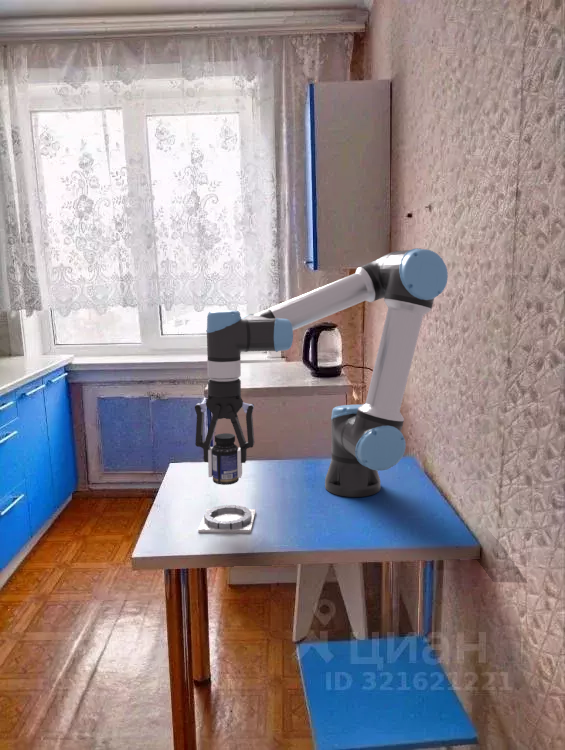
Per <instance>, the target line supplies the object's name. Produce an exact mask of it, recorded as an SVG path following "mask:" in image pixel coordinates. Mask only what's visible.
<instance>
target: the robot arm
mask: <svg viewBox="0 0 565 750" xmlns="http://www.w3.org/2000/svg"><path fill="white" fill-rule="evenodd" d="M448 275H449V273H448V269H447V265H446V263H445V262H444V260H443V258H442V256H440V255H439V254H438V253H436V252H435V251H433V250H430V249H427V248H412V249H406V250H395V251H392V252H391V251H390V252H389V253H386V254H385V255H383V256H381V257H379V258H377V259H375V260H373V261H370V262H368V263H366V264H364V265H361V266H359V267H357V268H356V269H355V273H353V274H350V275H347V276H345V277H343V278H341V279H340V278H339V279H337V280H336V281H333V282H331V283H328V284H326V285H323V286H320V287H318V288H315V289H313V290H311V291H308V292H306V293H303V294H300V295H299V296H296V297H293V298H291V299H289V300H286V301H283V302H281V303H279V304H277V305H273V306H272V307H269V308H266V309H264V310H261V311H259V312H256V313H249V314H247V315H244V316H243V317H241V313H240V312H239V310H234V309H228V310H227V309H216V310H215V309H214V310H211V311H209V312H208V313H207V317H206V318H207V320H206V322H207V323H206V350H207V356H206V357H207V359H206V361H207V362H206V363H207V366H206V367H207V378H209V379H208V380H207V399H206V401H205V402H198V403H196V405H194V410H195V414H196V425H195V427H196V430H195V443H194V444H195V446H196V447H199V448H202V449H203V450H202V451H203V461H204V463H208V478H213V471H212V448H213V446H211V445H212V444H211V443H212V440H213V437H214V433H215V430H216V427H217V425H218V420H222V419H226V420H230V423H231V424H232V427H233V430H234V433H235V437H236V439H237V442H238V444H239V447H238V450H237V466H238V478H239V479H240V478H242V475H243V464H246V462H247V459H248V457H247V454H248V453H247V452H248V451H247V450H248V449H250V448H253V447H254V445H255V433H254V420H253V419H254V418H253V412H254V408H255V404H254V403H248V402H247V403H246V402H244V400H243V399H242V386H241V385H242V381H241V380H242V379H240V377H242V374H241V373H242V371H241V369H242V367H241V358H242V357H241V354H242V353H249V352H276V353H277V352H282V351H288V350H290V349H291V348H292V345H293V340H294V331H295V330H297V329H300V328H303V327H304V326H307V325H310V324H312V323H315V322H317V321H319V320H322V319H324V318H326V317H329V316H332V315H334V314H336V313H338V312H340V311H343V310H346V309H349V308H350V307H353V306H356V305H358V304H360V303H363V302H365V301H366V302H368V303H374V302H376V301H379V300H382V299H383V301H384V303H385V305H386V307H387V311H386V316H385V321H384V324H383V327H382V328H383V329H382V333H381V336H380V341H379V345H378V350H377V354H376V358H375V362H374V367H373V371H372V375H371V378H370V383H369V387H368V391H367V395H366V400H365V403H363V404H343V405H342V404H341V405H338V406H337V405H336V406H335V407H333V408H332V411H331V418H330V420H331V423H330V424H331V428H330V429H331V433H330V434H331V460H330V463H329V466H328V470H327V473H326V475H325V479H324V487H325V490H327V492H329V493H331V494H333V495H336V496H341V497H345V498H346V497H348V498H361V497H369V496H372V495H375V494H377V493H379V492H380V491H381V478H380V474H379V471H381V472H383V471H386V470H387V471H388V470H390V469H391V468H393V467H395V466H396V465H398V463H399V462H400V461H401V460H402V458H403V457H404V455H405V452H406V439H405V437H404V434H403V432H402V430H403V426H404V421H405V418H404V416H403V415H402V413H401V406H402V403H403V399H404V395H405V391H406V387H407V382H408V380H409V374H410V371H411V366H412V363H413V362H412V361H413V358H414V354H415V351H416V346H417V343H418V337H419V334H420V330H421V326H422V322H423V317H424V316H425V315H426V314H428V313H430V312H431V311H432V309H433V306H434V305H433V304H434V301H435V298H438V296H439V295H441V294H442V293H443V291H444V290H445V288H446V286H447V283H448V277H449V276H448ZM206 408H208V410H209V411H210V412H211V414H212V416H211V420H210V423H209V428H208V430H207V434H206V437H205V439H203V438H204V436H203V435H204V420H205V412H206V410H207V409H206ZM241 409H243V412H244V414H245V419H246V420H245V421H246V422H245V423H246V435H247V441H246V438H245V435H244V432H243V429H242V425H241V423H240V421H239V416H238V413H239V412H240V410H241Z"/></svg>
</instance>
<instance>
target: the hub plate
mask: <svg viewBox="0 0 565 750" xmlns="http://www.w3.org/2000/svg"><path fill="white" fill-rule="evenodd" d="M256 510H257V509H256V508H254V509H253V508H252V509H251V508H248V507H246V506H242V505H235V504H226V505H219V506H214V507H211V508H207V509H206V511H205V512H204V516H203V518H202V519H201V522H200V525H199V526H198V528H197V532H198V533H211V534H214V533H216V534H217V533H219V534H251V532H252V530H253V525H254V521H255V517H256Z"/></svg>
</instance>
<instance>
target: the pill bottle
mask: <svg viewBox="0 0 565 750" xmlns="http://www.w3.org/2000/svg"><path fill="white" fill-rule="evenodd" d="M214 442H215V444H214V445H213V446H212V447H213V448H212V471H213V476H212V481H213V483H215V484H216V485H220V486H221V485H222V486H226V485H227V486H228V485H234V484H236V483H238V481H239V480H240V478H238V466H237V450H238V448H239V447H238V445H237V444H235V442H236V434H233V433H230V432H229V433H224V432H223V433H217V434H215V435H214Z"/></svg>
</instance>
